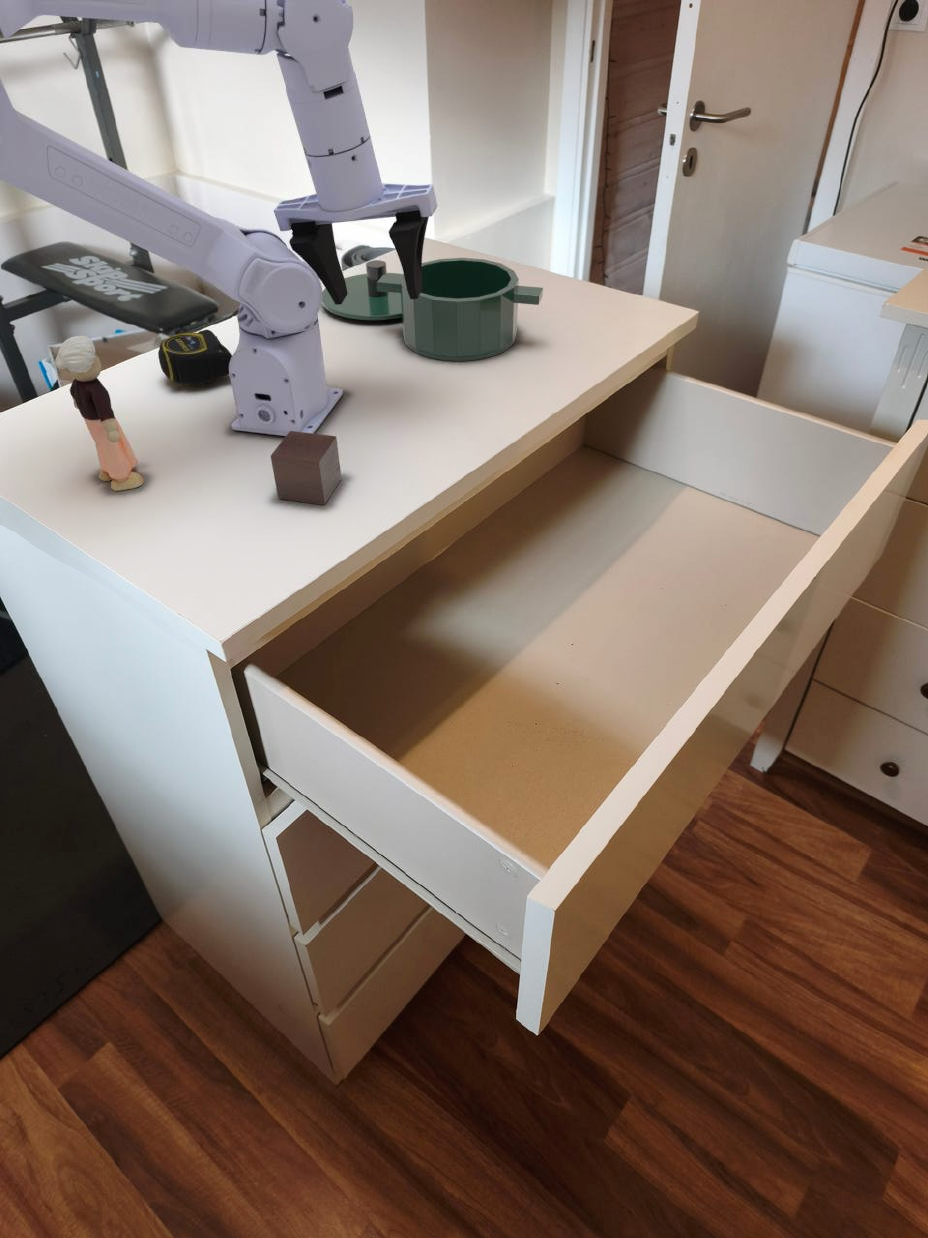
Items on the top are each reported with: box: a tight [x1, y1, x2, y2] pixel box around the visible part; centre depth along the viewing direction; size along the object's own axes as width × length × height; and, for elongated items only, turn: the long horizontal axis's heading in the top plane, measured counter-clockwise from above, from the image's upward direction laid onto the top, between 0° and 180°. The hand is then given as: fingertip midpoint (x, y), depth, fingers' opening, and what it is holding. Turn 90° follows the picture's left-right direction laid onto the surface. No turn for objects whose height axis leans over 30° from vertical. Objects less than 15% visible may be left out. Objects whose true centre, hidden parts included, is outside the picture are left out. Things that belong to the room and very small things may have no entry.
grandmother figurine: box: [54, 335, 145, 492], centre depth 70 cm, size 8×4×13 cm, turn 52°
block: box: [270, 431, 342, 506], centre depth 71 cm, size 4×4×4 cm
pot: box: [377, 257, 544, 362], centre depth 94 cm, size 13×18×6 cm
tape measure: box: [157, 329, 233, 385], centre depth 88 cm, size 7×7×4 cm
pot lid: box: [321, 259, 404, 321], centre depth 102 cm, size 14×14×5 cm
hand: (378, 296), depth 81 cm, fingers open, 7 cm apart
